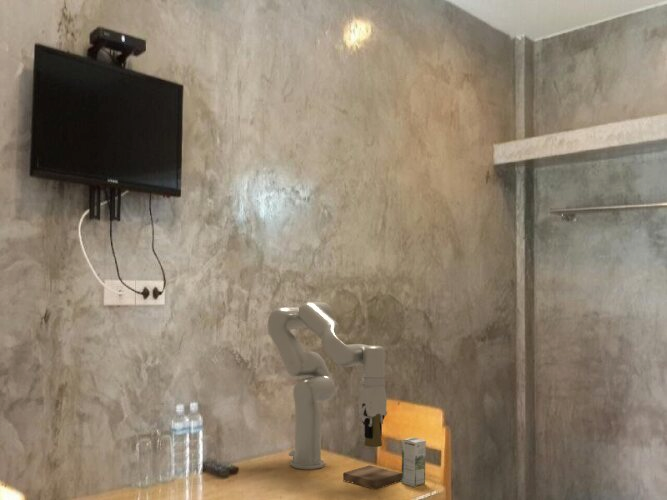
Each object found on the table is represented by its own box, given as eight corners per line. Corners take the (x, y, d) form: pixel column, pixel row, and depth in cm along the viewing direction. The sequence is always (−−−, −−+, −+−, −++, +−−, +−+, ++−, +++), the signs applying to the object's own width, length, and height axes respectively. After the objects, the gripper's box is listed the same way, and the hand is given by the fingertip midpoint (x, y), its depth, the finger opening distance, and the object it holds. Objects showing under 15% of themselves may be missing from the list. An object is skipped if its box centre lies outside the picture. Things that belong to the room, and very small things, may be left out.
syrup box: (411, 480, 213) (412, 436, 215) (425, 484, 209) (426, 439, 210) (401, 483, 209) (401, 439, 211) (415, 487, 205) (415, 442, 206)
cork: (381, 447, 210) (381, 413, 211) (363, 446, 211) (363, 412, 212) (383, 443, 216) (383, 410, 216) (365, 442, 217) (366, 410, 218)
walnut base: (343, 480, 212) (343, 472, 212) (369, 472, 222) (369, 465, 222) (375, 489, 202) (375, 481, 203) (401, 480, 213) (401, 473, 213)
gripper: (380, 379, 224) (379, 431, 222) (349, 383, 211) (348, 439, 210) (397, 381, 219) (396, 435, 217) (366, 385, 206) (365, 442, 205)
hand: (373, 436), depth 213 cm, fingers closed on cork, 4 cm apart
